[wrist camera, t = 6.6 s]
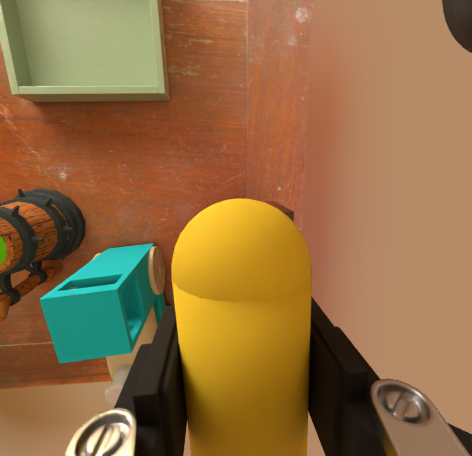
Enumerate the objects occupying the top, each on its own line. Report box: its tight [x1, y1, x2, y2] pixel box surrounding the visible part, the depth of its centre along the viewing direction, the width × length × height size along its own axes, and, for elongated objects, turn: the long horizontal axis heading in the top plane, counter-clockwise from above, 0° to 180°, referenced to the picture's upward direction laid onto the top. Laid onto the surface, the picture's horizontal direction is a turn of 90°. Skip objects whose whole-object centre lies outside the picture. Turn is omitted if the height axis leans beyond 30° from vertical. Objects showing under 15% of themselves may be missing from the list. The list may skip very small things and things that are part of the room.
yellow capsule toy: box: [172, 199, 312, 456], centre depth 8 cm, size 11×4×4 cm, turn 3°
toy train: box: [39, 243, 166, 405], centre depth 31 cm, size 8×17×15 cm, turn 6°
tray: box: [0, 0, 170, 102], centre depth 28 cm, size 17×15×3 cm
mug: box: [0, 189, 85, 321], centre depth 29 cm, size 13×10×12 cm
